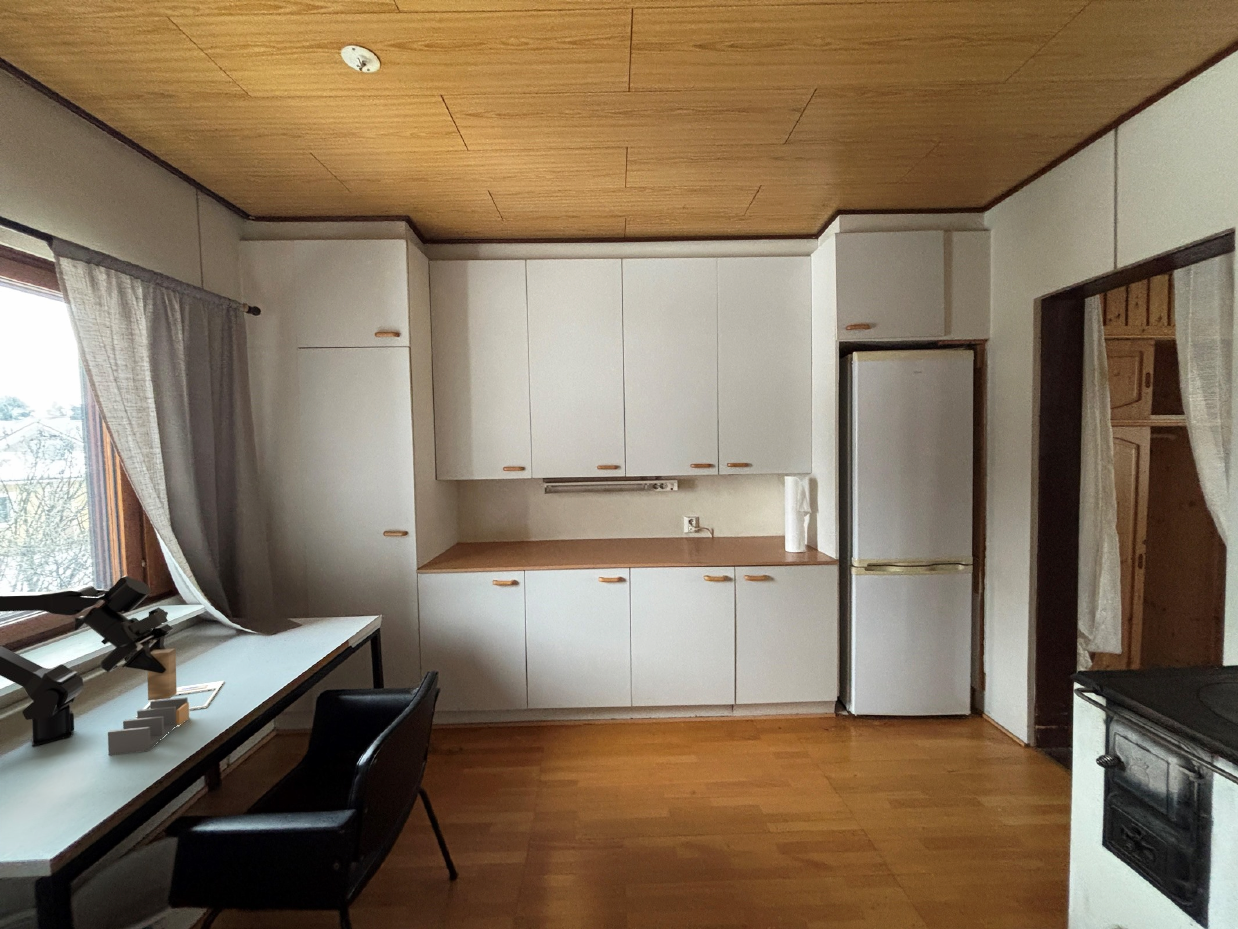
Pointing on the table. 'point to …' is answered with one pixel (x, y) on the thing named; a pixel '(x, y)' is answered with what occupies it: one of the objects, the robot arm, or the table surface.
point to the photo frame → (197, 689)
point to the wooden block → (163, 676)
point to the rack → (148, 726)
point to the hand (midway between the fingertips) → (168, 669)
